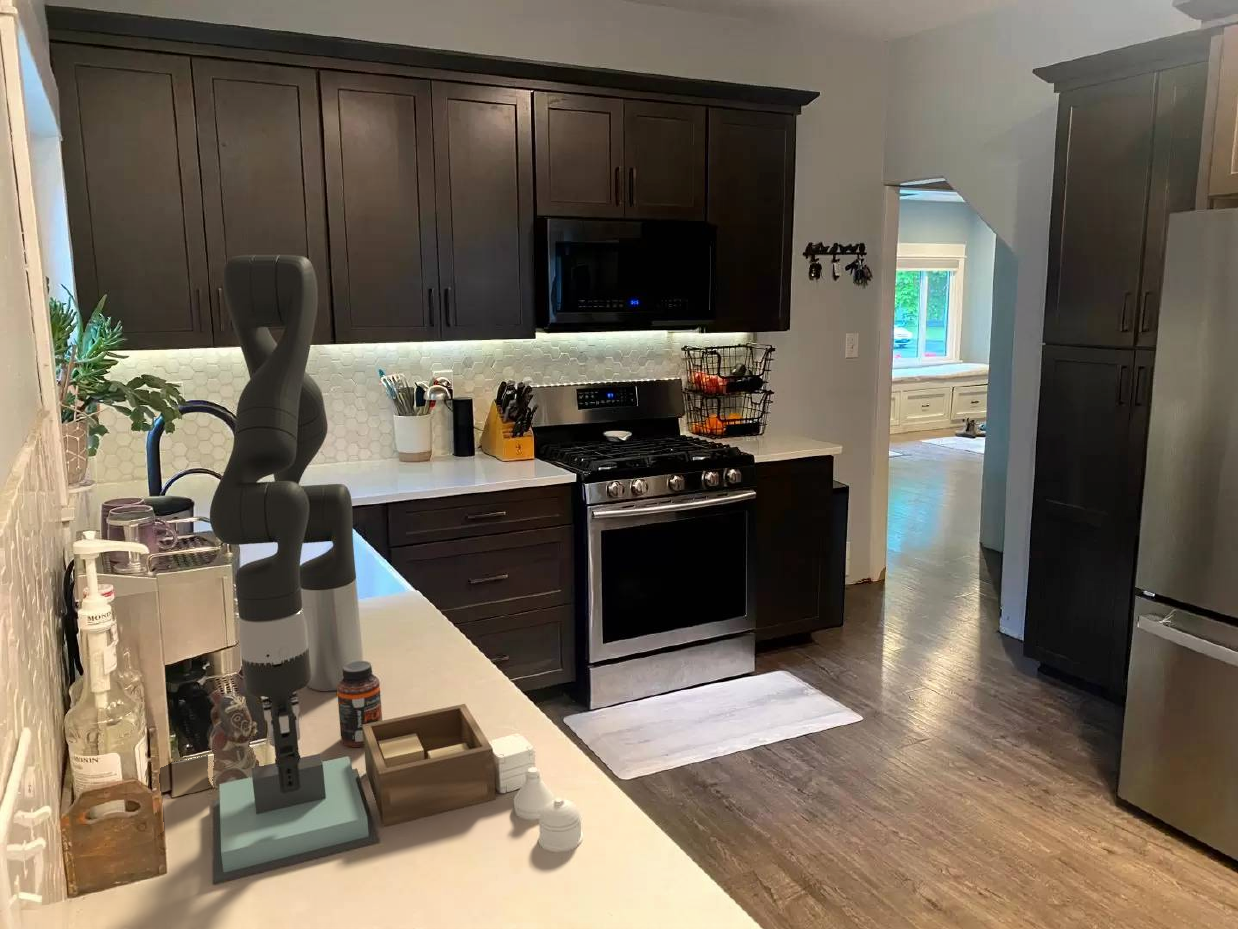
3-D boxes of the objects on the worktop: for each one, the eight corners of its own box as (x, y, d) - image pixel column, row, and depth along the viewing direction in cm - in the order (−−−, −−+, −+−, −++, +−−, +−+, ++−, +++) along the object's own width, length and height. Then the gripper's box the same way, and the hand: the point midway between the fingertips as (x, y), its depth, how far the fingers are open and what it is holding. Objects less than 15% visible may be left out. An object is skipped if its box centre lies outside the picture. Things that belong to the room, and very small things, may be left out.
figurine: (231, 795, 120) (221, 709, 118) (196, 781, 124) (186, 698, 121) (276, 770, 126) (267, 688, 124) (242, 757, 130) (233, 677, 127)
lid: (221, 802, 118) (215, 751, 116) (350, 773, 124) (345, 725, 123) (223, 873, 104) (216, 816, 102) (368, 836, 110) (364, 782, 108)
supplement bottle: (372, 750, 131) (366, 675, 129) (333, 747, 132) (326, 673, 130) (390, 730, 137) (385, 658, 134) (353, 728, 138) (347, 656, 136)
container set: (485, 780, 123) (483, 742, 122) (522, 769, 125) (520, 731, 124) (550, 859, 106) (548, 815, 105) (590, 844, 108) (589, 801, 107)
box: (366, 772, 125) (361, 724, 124) (467, 750, 130) (464, 703, 129) (383, 827, 112) (379, 774, 111) (495, 799, 118) (492, 748, 116)
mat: (212, 803, 118) (212, 800, 118) (357, 771, 125) (357, 768, 125) (213, 884, 102) (213, 881, 102) (379, 842, 109) (379, 839, 109)
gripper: (238, 633, 114) (252, 754, 117) (242, 676, 101) (257, 811, 105) (302, 623, 117) (314, 741, 120) (314, 663, 104) (326, 795, 108)
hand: (287, 773), depth 113 cm, fingers open, 8 cm apart
